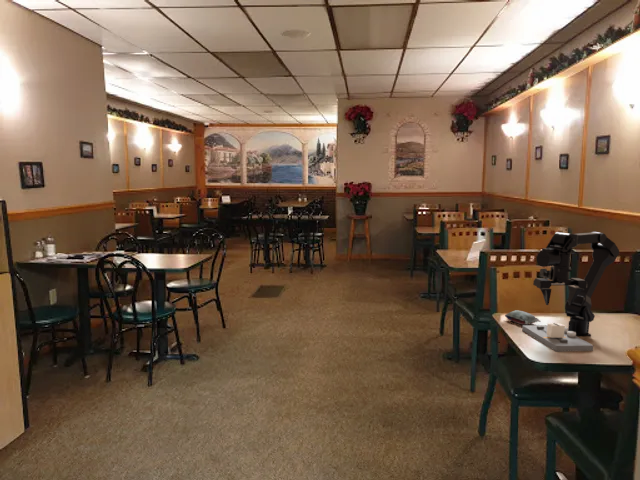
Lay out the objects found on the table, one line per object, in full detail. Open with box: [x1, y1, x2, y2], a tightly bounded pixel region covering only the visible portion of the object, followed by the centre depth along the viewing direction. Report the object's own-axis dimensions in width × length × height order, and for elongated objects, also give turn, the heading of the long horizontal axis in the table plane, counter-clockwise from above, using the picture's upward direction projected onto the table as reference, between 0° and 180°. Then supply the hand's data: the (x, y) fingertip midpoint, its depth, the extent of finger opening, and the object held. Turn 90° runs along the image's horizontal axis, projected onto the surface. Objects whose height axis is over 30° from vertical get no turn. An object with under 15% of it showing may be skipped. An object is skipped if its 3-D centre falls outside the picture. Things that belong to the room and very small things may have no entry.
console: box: [521, 324, 594, 352], centre depth 183 cm, size 24×14×4 cm, turn 5°
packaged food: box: [504, 309, 541, 325], centre depth 205 cm, size 9×12×5 cm
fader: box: [547, 322, 566, 338], centre depth 180 cm, size 3×5×5 cm, turn 95°
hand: (558, 304), depth 185 cm, fingers open, 9 cm apart
